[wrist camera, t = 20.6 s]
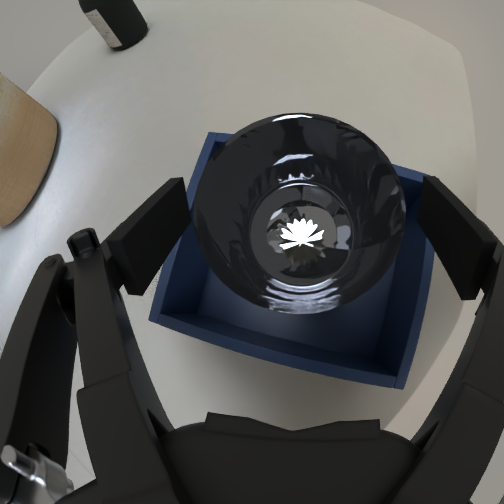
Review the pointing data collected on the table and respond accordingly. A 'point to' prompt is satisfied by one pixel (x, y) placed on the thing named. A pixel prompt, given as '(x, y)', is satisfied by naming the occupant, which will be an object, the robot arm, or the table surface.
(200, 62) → the table surface
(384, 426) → the table surface
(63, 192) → the table surface
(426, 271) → the bin
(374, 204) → the wine glass
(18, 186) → the planter
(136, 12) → the wine bottle
